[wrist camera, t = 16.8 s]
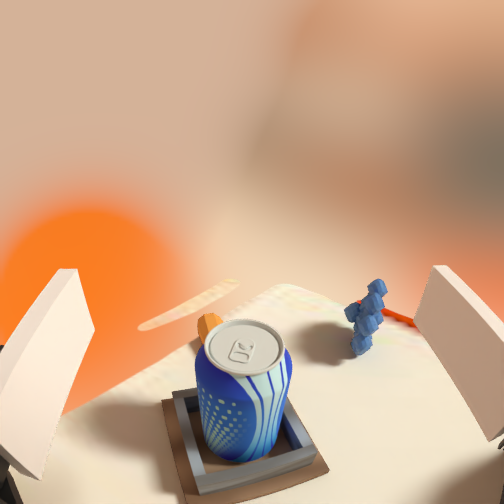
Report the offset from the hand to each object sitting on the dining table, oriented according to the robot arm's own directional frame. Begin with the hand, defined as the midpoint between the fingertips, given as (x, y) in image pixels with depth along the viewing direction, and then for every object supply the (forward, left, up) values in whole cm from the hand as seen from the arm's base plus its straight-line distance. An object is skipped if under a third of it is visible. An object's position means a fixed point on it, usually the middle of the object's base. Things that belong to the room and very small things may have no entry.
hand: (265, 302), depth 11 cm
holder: (+9, -3, -28) cm, 30 cm away
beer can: (+10, -3, -28) cm, 29 cm away
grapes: (+20, -27, -29) cm, 44 cm away
